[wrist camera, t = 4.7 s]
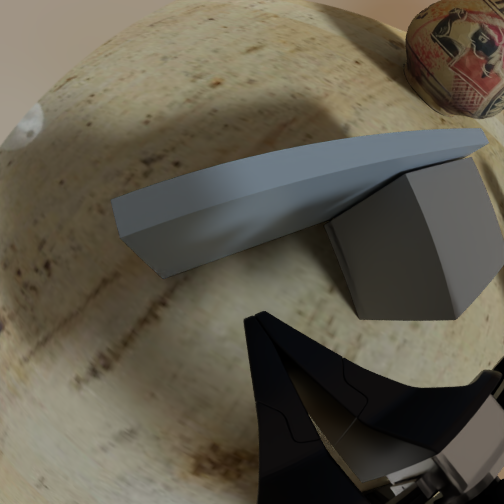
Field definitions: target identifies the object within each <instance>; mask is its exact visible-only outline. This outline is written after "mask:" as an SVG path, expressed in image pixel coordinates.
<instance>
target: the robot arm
mask: <svg viewBox="0 0 504 504" xmlns="http://www.w3.org/2000/svg"><path fill="white" fill-rule="evenodd" d="M243 322H244V329H245V336H246V343H247V350H248V357H249V364H250V371H251V377H252V384H253V391H254V397H255V402H256V403H255V404H256V411H257V419H258V431H259V481H258V495H257V504H504V479H502V480H500V479H499V477H498V476H497V475H498V473H499V472H500V471H501V469H502V468H503V467H504V356H503V357H502V358H501V359H500V360H499V361H498V363H497V364H496V365H495V366H494V368H493V369H492V370H483V371H482V372H481V373H480V374H479V375H478V376H477V377H476V378H475V379H474V380H473V381H472V382H471V383H470V384H469V385H466V386H458V387H436V388H418V387H411V386H407V385H404V384H402V383H399V382H396V381H394V380H391V379H389V378H386V377H383V376H381V375H378V374H376V373H374V372H371V371H369V370H367V369H364V368H362V367H360V366H358V365H357V364H355V363H353V362H351V361H349V360H347V359H346V358H342V356H340V355H338V354H337V353H335V352H333V351H331V350H330V349H328V348H326V347H325V346H323V345H321V344H319V343H318V342H316V341H314V340H313V339H311V338H309V337H307V336H306V335H304V334H302V333H301V332H299V331H297V330H296V329H294V328H292V327H291V326H289V325H287V324H286V323H284V322H283V321H281V320H279V319H278V318H276V317H274V316H273V315H271V314H269V313H268V312H266V311H262V312H260V313H257V314H255V315H254V316H250V317H248V318H245V319H244V320H243ZM309 415H310V416H311V418H312V419H313V420H314V422H315V423H316V425H317V426H318V427H319V429H320V430H321V431H322V432H323V434H324V435H325V436H326V438H327V439H328V440H329V442H330V443H331V444H332V446H333V447H334V448H335V449H336V451H337V452H338V453H339V455H340V456H341V457H342V458H343V460H344V461H345V462H346V463H347V465H348V466H349V467H350V468H351V470H352V471H353V472H354V473H355V475H356V476H357V477H358V478H359V480H360V481H361V482H362V483H363V482H366V481H370V480H373V479H376V478H380V477H383V476H387V478H388V479H389V480H390V482H391V484H388V485H385V486H382V487H379V488H376V489H373V490H369V491H366V492H361V491H360V490H359V489H358V488H357V487H356V485H355V484H354V483H353V482H352V481H351V479H350V478H349V477H348V476H347V475H346V473H345V472H344V471H343V470H342V469H341V467H340V466H339V465H338V464H337V463H336V461H335V460H334V459H333V458H332V456H331V455H330V454H329V452H328V451H327V449H326V447H325V446H324V444H323V442H322V440H321V438H320V436H319V434H318V432H317V430H316V428H315V426H314V424H313V422H312V420H311V418H310V416H309ZM438 492H440V493H438ZM436 493H438V494H437V495H436V496H435V497H433V496H434V495H435V494H436ZM432 497H433V498H432Z"/></svg>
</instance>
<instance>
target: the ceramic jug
mask: <svg viewBox="0 0 504 504" xmlns="http://www.w3.org/2000/svg"><path fill="white" fill-rule="evenodd" d="M406 54H407V64H404V74H405V76H406V78H407V80H408V82H409V84H410V85H411V87H412V88H413V89H414V90H415V91H416V92H417V93H418V94H419V96H420V97H421V98H422V99H423V100H424V101H425V102H426V103H427V104H428V105H429V106H430V107H431V108H432V109H434V110H435V111H437V112H439V113H441V114H442V115H445V116H449V117H453V116H454V115H461V116H466V117H471V118H475V119H485V118H489V117H493V116H495V115H496V114H498V113H499V112H501V111H502V110H503V109H504V0H441V1H438V2H436V3H434V4H432V5H430V6H429V7H428V8H426V9H424V10H422V11H421V12H420V13H419V14H417V16H416V17H415V18H414V19H413V20H412V22H411V24H410V26H409V27H408V31H407V34H406Z"/></svg>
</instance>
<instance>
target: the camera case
mask: <svg viewBox="0 0 504 504" xmlns="http://www.w3.org/2000/svg"><path fill="white" fill-rule="evenodd" d="M324 227H325V229H326V232H327V234H328V237H329V239H330V242H331V244H332V246H333V249H334V251H335V254H336V257H337V259H338V262H339V264H340V267H341V269H342V272H343V275H344V277H345V280H346V283H347V285H348V288H349V291H350V294H351V296H352V299H353V302H354V305H355V308H356V311H357V313H358V316H359V319H360V320H403V321H430V320H456V319H457V318H458V317H459V316H460V315H461V314H462V313H463V312H464V311H465V310H466V309H467V308H468V307H469V306H470V305H471V304H472V302H473V301H474V300H475V299H476V298H477V297H478V296H479V295H480V294H481V292H482V291H483V290H484V289H485V288H486V287H487V285H488V284H489V283H490V282H491V281H492V279H493V278H494V277H495V276H496V274H497V273H498V272H499V271H500V269H501V268H502V267H503V265H504V240H503V237H502V234H501V230H500V227H499V224H498V221H497V218H496V215H495V212H494V209H493V206H492V203H491V201H490V198H489V195H488V193H487V190H486V188H485V185H484V183H483V181H482V178H481V176H480V174H479V172H478V169H477V167H476V165H475V163H474V161H473V159H472V157H469V158H465V159H461V160H457V161H453V162H449V163H445V164H441V165H437V166H433V167H429V168H425V169H422V170H418V171H414V172H410V173H406V174H404V175H403V176H401V177H400V178H398V179H396V180H395V181H393V182H392V183H390V184H389V185H387V186H385V187H384V188H382V189H381V190H379V191H378V192H376V193H374V194H373V195H371V196H370V197H368V198H367V199H365V200H363V201H362V202H360V203H359V204H357V205H355V206H354V207H352V208H351V209H349V210H347V211H346V212H344V213H343V214H341V215H339V216H338V217H336V218H335V219H333V220H331V221H330V222H328V223H327V224H325V225H324Z"/></svg>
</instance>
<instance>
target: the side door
mask: <svg viewBox="0 0 504 504" xmlns="http://www.w3.org/2000/svg"><path fill="white" fill-rule="evenodd" d="M488 143H489V142H488V140H487V138H486V136H485V134H484V132H483V131H482V129H481V128H466V129H435V130H418V131H405V132H394V133H385V134H376V135H367V136H360V137H352V138H345V139H339V140H332V141H326V142H320V143H315V144H309V145H304V146H298V147H293V148H288V149H283V150H279V151H274V152H269V153H265V154H260V155H256V156H252V157H248V158H243V159H239V160H235V161H232V162H228V163H224V164H220V165H216V166H213V167H209V168H205V169H202V170H198V171H195V172H192V173H188V174H185V175H182V176H178V177H175V178H172V179H169V180H166V181H162V182H159V183H156V184H153V185H150V186H147V187H144V188H142V189H139V190H136V191H133V192H130V193H127V194H125V195H122V196H119V197H117V198H114V199H111V204H112V208H113V212H114V217H115V221H116V225H117V229H118V232H119V236H120V239H121V240H122V241H123V242H124V243H125V244H126V245H128V246H129V247H130V248H131V249H132V250H133V251H134V252H135V253H136V254H137V255H138V256H139V257H140V258H141V259H142V260H143V261H144V262H145V263H146V264H147V265H148V266H149V267H151V268H152V269H153V270H154V271H155V272H156V273H157V274H158V275H159V276H160V277H161V278H162V279H164V278H167V277H170V276H173V275H176V274H178V273H181V272H184V271H187V270H189V269H192V268H195V267H198V266H201V265H203V264H206V263H209V262H212V261H215V260H217V259H220V258H223V257H226V256H228V255H231V254H234V253H237V252H240V251H242V250H245V249H248V248H251V247H254V246H257V245H259V244H262V243H265V242H268V241H271V240H273V239H276V238H279V237H282V236H285V235H287V234H290V233H293V232H296V231H299V230H302V229H304V228H307V227H310V226H313V225H316V224H319V223H321V222H324V221H327V220H330V219H333V218H336V217H338V216H339V215H341V214H343V213H344V212H346V211H347V210H349V209H351V208H352V207H354V206H355V205H357V204H359V203H360V202H362V201H363V200H365V199H367V198H368V197H370V196H371V195H373V194H374V193H376V192H378V191H379V190H381V189H382V188H384V187H385V186H387V185H389V184H390V183H392V182H393V181H395V180H396V179H398V178H400V177H401V176H403V175H404V174H406V173H410V172H414V171H418V170H422V169H425V168H429V167H433V166H437V165H441V164H445V163H449V162H453V161H457V160H461V159H463V158H465V157H466V156H468V155H470V154H471V153H473V152H475V151H476V150H478V149H480V148H481V147H483V146H485V145H486V144H488Z"/></svg>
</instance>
